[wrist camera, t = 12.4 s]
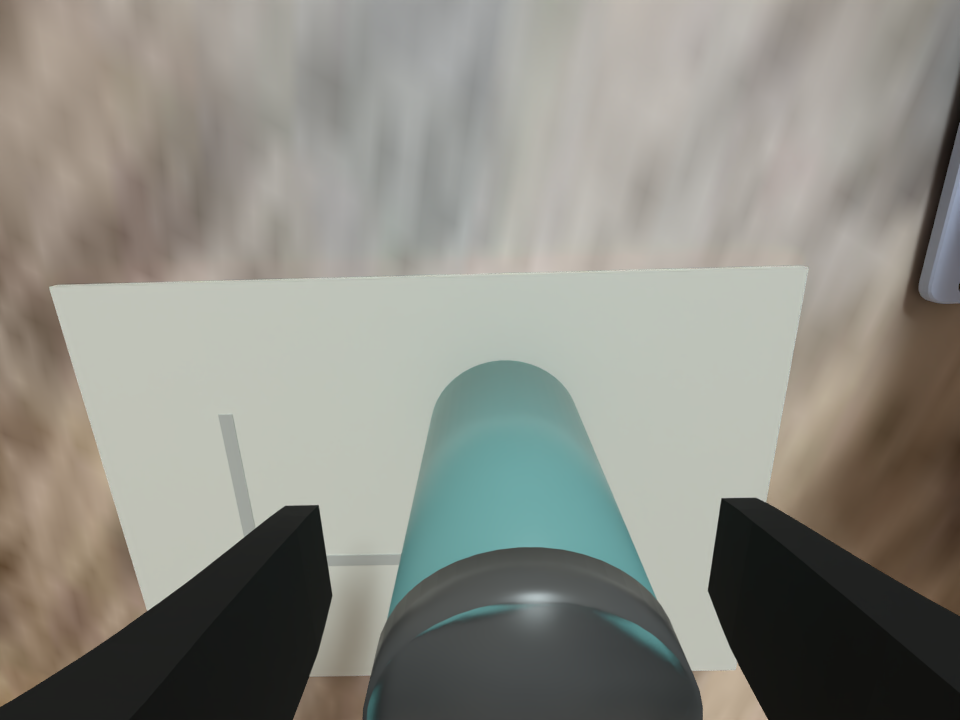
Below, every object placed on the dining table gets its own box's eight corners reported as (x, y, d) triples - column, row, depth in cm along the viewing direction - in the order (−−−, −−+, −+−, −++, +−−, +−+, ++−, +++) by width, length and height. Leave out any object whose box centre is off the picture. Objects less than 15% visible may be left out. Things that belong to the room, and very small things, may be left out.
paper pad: (802, 265, 14) (809, 267, 13) (731, 662, 18) (736, 671, 18) (57, 284, 14) (47, 287, 14) (172, 671, 18) (166, 679, 18)
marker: (573, 341, 14) (715, 585, 5) (575, 472, 15) (691, 833, 7) (424, 352, 14) (336, 606, 6) (439, 480, 15) (386, 844, 7)
